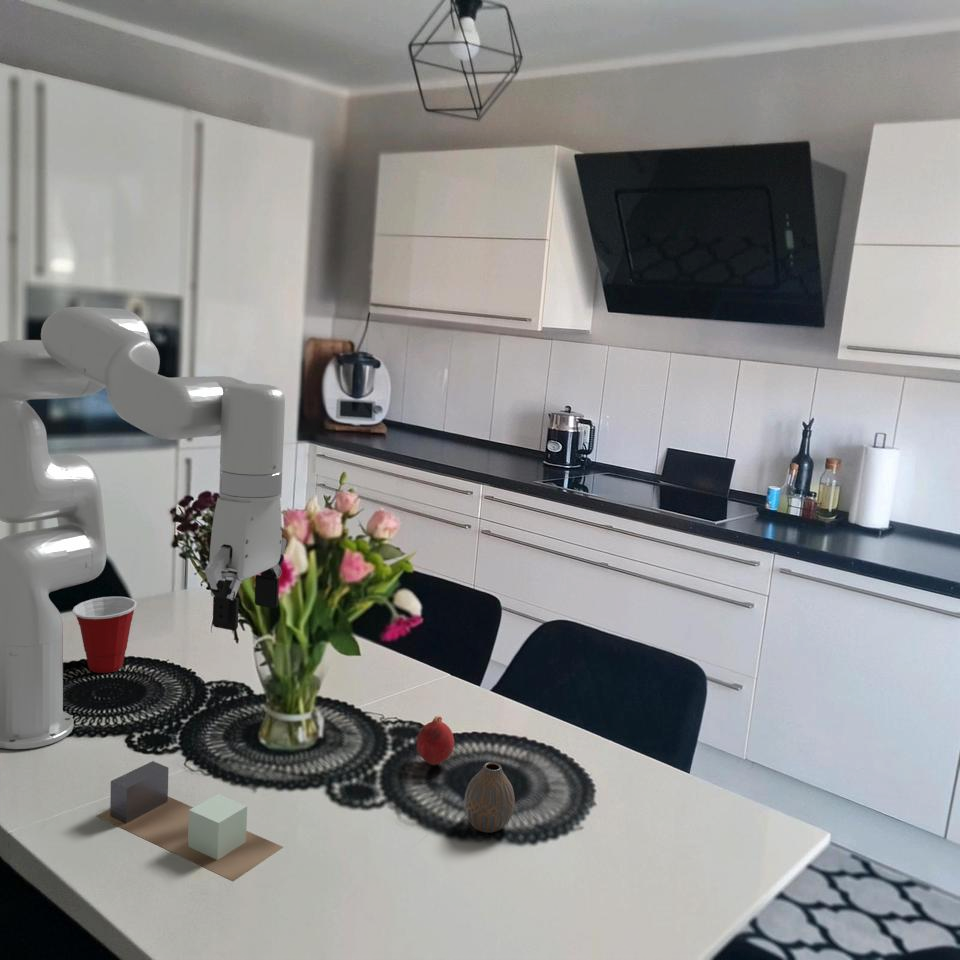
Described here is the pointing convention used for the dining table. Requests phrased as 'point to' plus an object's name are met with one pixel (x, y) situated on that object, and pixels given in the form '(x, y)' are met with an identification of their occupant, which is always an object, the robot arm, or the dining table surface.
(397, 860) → the dining table surface
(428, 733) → the red pomegranate
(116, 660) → the plastic cup
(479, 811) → the vase
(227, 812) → the sage block
